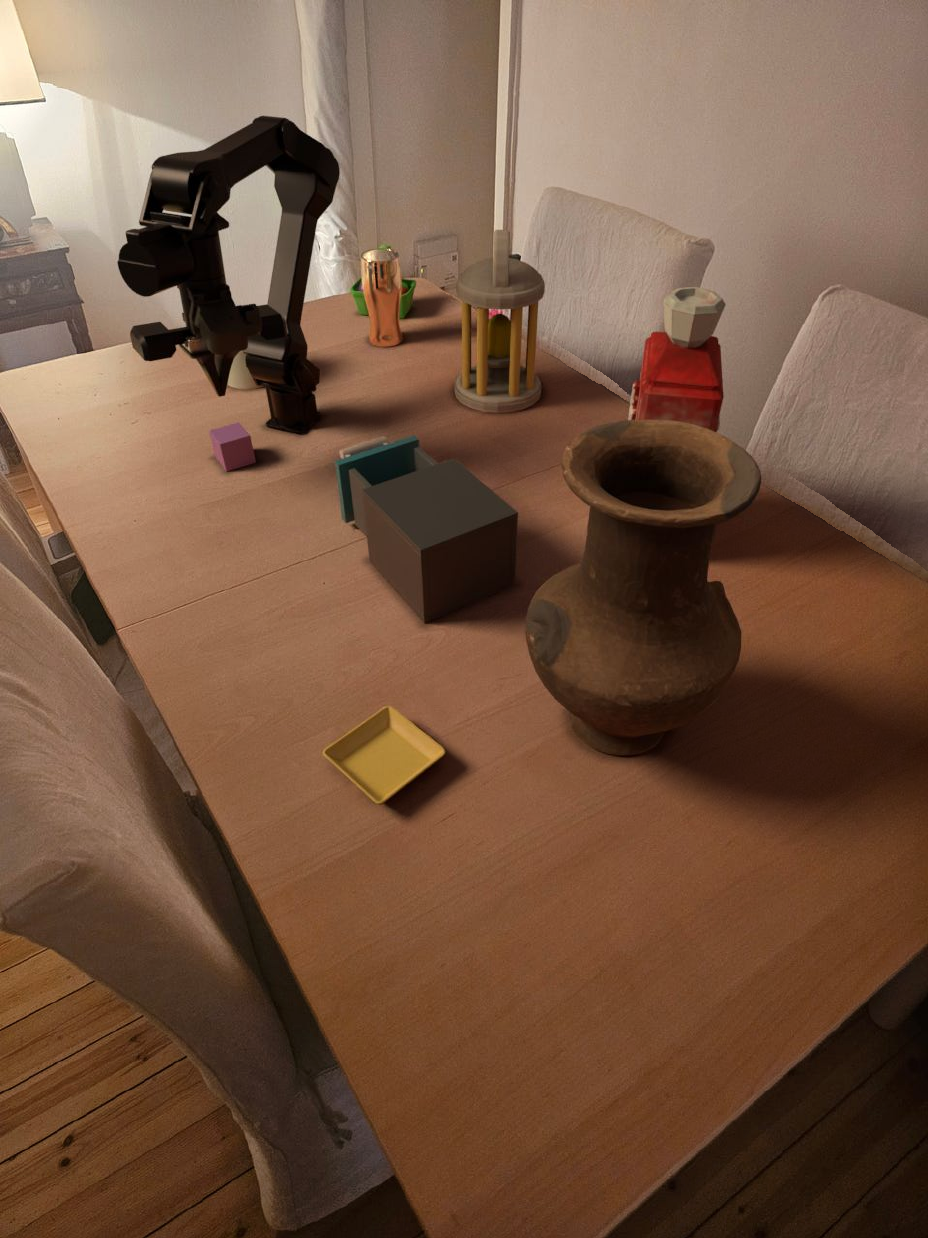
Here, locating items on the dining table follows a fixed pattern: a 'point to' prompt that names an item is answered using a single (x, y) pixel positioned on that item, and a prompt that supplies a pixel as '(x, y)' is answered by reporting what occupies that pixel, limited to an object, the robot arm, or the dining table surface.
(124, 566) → the dining table surface
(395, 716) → the yellow square dish
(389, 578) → the dark grey box-shaped block
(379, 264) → the beer glass
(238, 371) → the mug
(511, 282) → the lantern
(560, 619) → the vase
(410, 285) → the fruit basket
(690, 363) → the bottle
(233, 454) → the pink cube
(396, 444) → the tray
